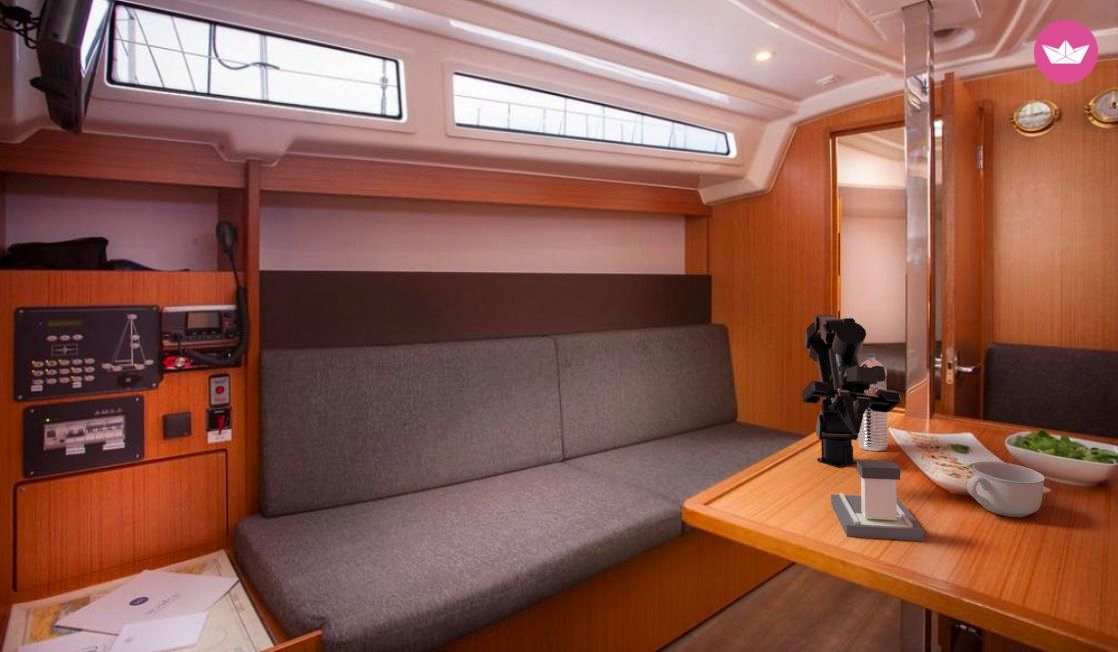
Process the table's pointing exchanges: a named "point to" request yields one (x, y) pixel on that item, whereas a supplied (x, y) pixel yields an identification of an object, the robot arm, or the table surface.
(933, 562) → the table surface
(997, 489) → the teacup
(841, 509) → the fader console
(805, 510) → the table surface
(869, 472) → the fader knob
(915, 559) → the table surface
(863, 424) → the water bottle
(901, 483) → the table surface
